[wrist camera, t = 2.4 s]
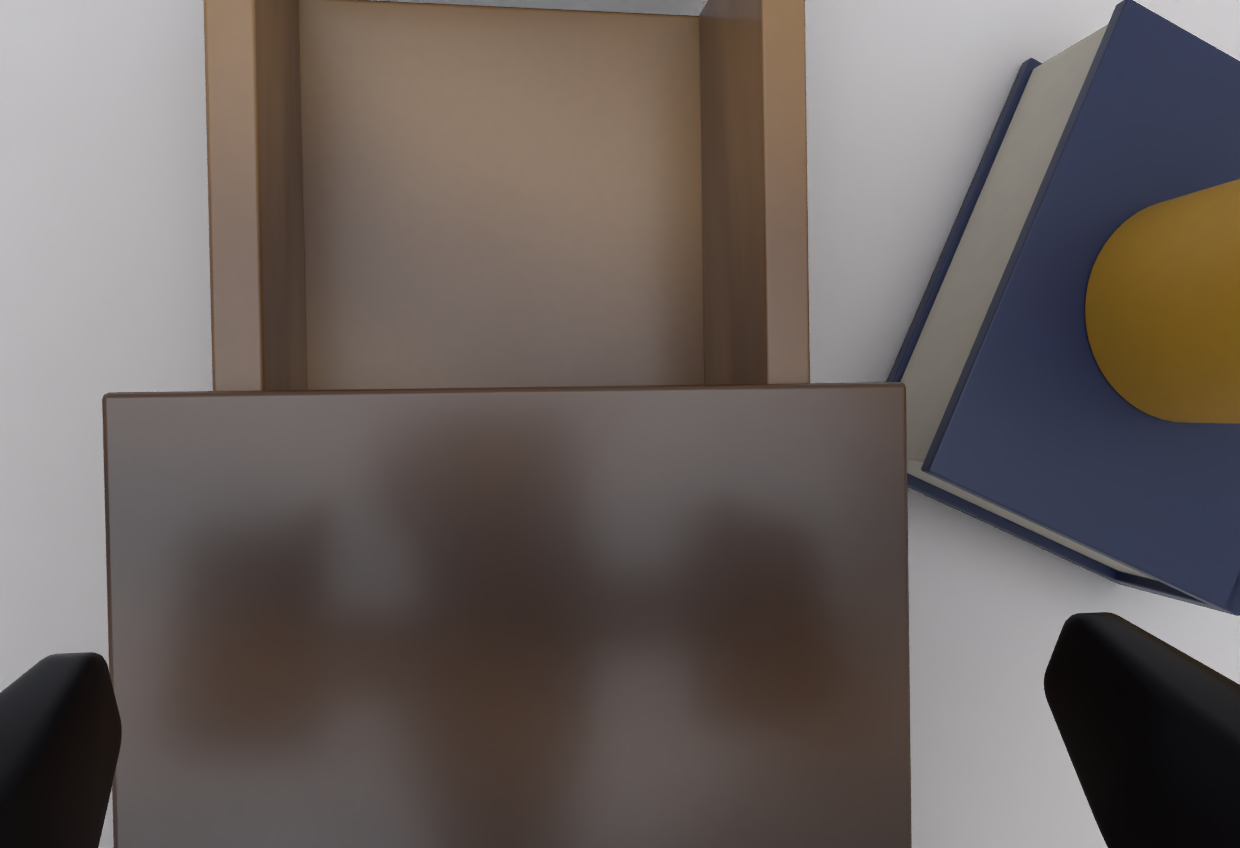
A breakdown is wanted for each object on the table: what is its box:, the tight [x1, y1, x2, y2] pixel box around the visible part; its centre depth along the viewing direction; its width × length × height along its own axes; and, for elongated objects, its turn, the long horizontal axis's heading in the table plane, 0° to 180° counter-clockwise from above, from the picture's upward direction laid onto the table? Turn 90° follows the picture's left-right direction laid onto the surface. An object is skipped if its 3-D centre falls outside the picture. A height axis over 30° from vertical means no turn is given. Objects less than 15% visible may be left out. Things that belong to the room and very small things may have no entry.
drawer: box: [204, 0, 810, 391], centre depth 19 cm, size 19×11×6 cm, turn 1°
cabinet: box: [102, 382, 911, 848], centre depth 19 cm, size 16×13×8 cm
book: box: [887, 0, 1240, 616], centre depth 23 cm, size 11×8×4 cm
